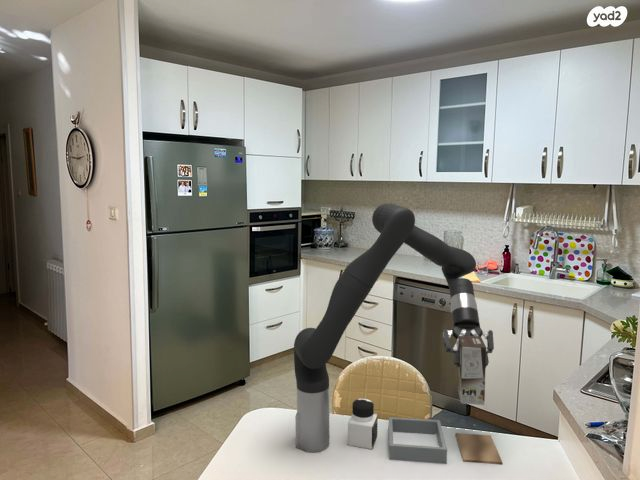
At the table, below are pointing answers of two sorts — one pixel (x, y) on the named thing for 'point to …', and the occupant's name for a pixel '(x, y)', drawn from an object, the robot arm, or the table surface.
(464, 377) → the coffee box
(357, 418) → the medicine bottle
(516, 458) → the table surface
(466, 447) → the pad
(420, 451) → the bin
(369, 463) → the table surface
